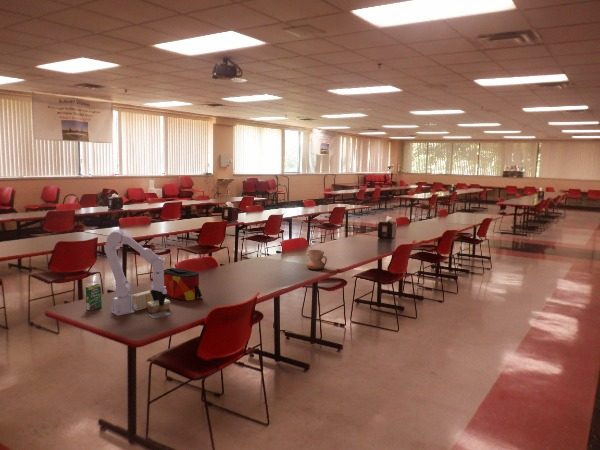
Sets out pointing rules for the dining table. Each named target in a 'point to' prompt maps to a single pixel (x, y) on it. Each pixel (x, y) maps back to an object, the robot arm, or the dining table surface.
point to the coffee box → (93, 297)
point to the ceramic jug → (316, 259)
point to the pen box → (158, 308)
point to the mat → (159, 314)
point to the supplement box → (141, 300)
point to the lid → (157, 302)
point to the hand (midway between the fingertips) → (158, 304)
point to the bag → (182, 284)
